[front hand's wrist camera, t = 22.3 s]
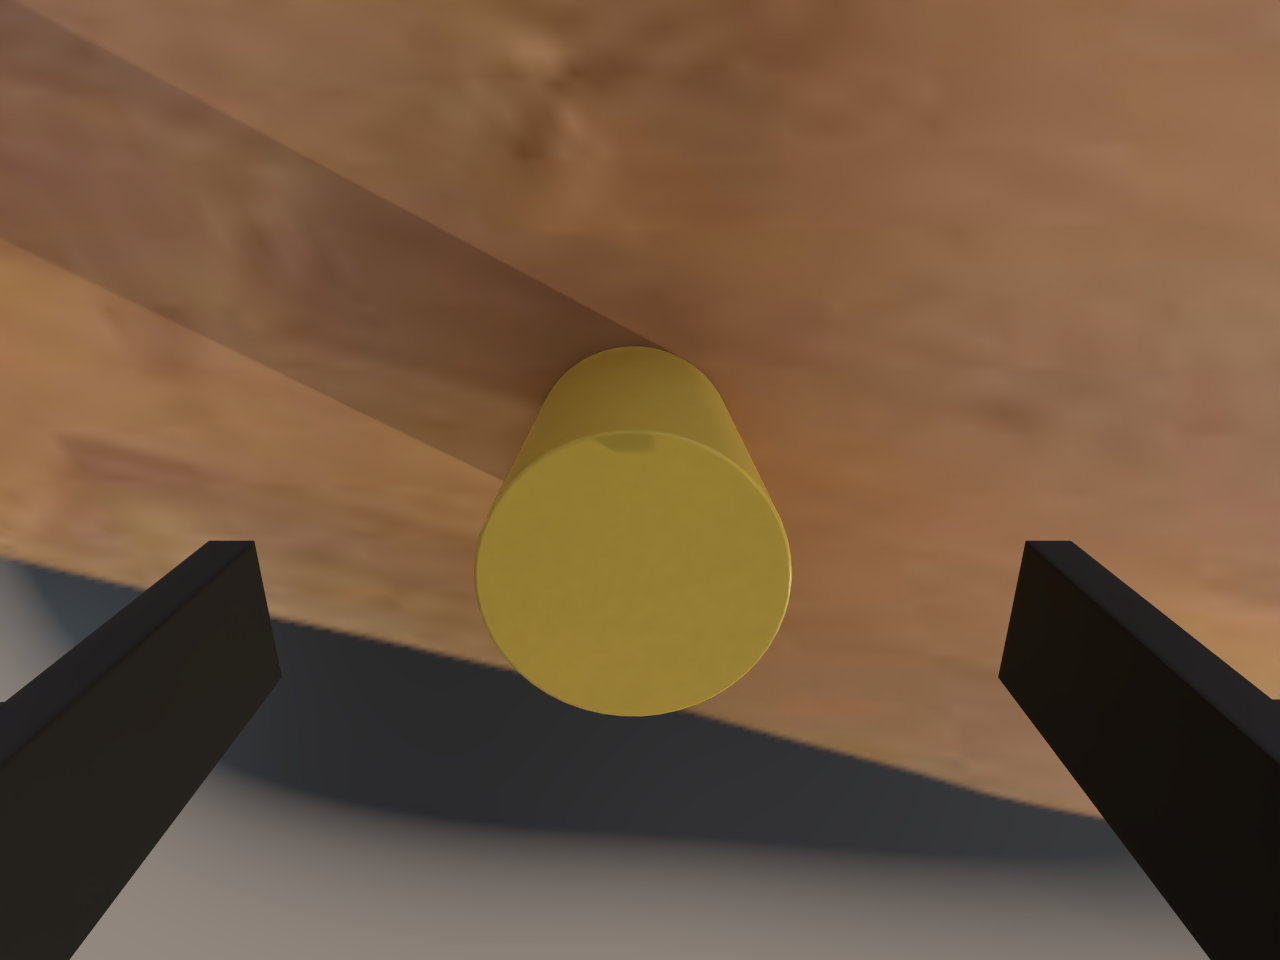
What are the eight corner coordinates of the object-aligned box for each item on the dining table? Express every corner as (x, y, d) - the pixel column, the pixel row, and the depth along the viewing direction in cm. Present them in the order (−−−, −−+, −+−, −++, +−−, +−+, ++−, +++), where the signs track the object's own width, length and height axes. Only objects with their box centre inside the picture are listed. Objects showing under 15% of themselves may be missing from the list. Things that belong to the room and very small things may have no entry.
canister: (608, 304, 23) (589, 362, 13) (771, 420, 24) (859, 547, 15) (499, 466, 24) (414, 619, 15) (656, 567, 26) (669, 765, 16)
